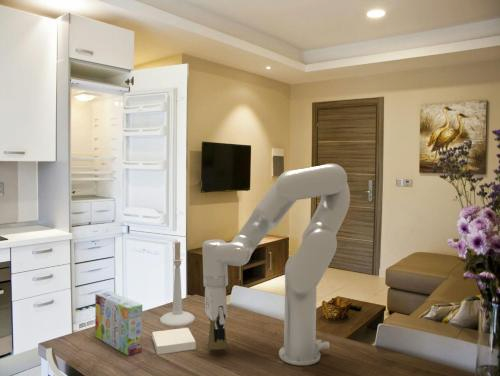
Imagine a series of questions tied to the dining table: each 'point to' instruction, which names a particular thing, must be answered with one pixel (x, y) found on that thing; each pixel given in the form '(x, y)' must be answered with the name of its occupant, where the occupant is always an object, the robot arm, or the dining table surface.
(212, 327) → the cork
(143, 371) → the dining table surface
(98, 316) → the snack box
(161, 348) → the tile base
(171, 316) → the candlestick
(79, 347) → the dining table surface
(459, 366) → the dining table surface
